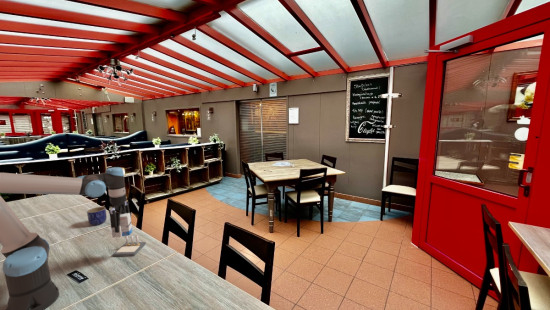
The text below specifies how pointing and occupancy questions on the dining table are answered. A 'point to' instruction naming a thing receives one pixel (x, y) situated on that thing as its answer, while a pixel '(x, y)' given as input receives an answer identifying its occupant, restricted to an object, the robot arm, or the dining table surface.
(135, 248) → the header board
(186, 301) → the dining table surface
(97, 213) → the planter
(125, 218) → the ink box
